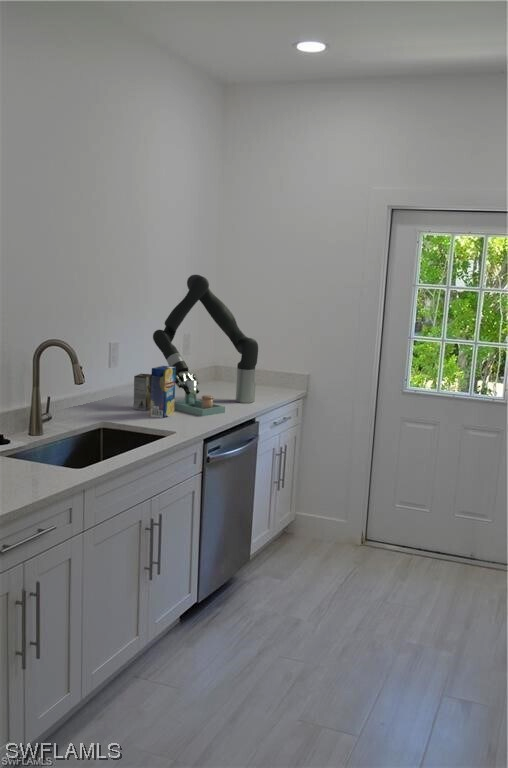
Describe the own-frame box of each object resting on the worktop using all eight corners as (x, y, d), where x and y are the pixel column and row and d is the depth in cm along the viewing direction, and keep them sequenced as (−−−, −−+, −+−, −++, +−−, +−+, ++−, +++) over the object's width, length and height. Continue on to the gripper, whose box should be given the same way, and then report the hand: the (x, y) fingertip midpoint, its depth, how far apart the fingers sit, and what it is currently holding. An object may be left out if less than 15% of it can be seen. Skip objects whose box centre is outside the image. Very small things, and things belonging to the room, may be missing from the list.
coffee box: (139, 406, 360) (140, 373, 358) (152, 407, 359) (153, 374, 357) (132, 409, 352) (134, 375, 349) (145, 410, 350) (147, 376, 348)
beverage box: (174, 414, 346) (175, 367, 343) (163, 418, 336) (165, 369, 333) (160, 412, 348) (162, 365, 345) (149, 416, 338) (151, 368, 335)
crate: (192, 406, 366) (192, 399, 366) (224, 414, 352) (225, 406, 352) (169, 409, 355) (169, 402, 354) (202, 418, 341) (202, 409, 340)
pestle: (206, 411, 353) (207, 394, 352) (215, 413, 350) (215, 396, 348) (198, 412, 349) (199, 396, 348) (207, 414, 346) (207, 397, 344)
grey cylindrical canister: (190, 401, 360) (191, 379, 358) (198, 403, 356) (199, 380, 354) (182, 402, 356) (183, 380, 354) (190, 404, 352) (191, 381, 350)
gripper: (170, 360, 352) (186, 389, 346) (192, 359, 363) (208, 387, 357) (162, 370, 356) (178, 399, 351) (184, 368, 367) (200, 396, 361)
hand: (193, 393), depth 354 cm, fingers closed on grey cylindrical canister, 5 cm apart
